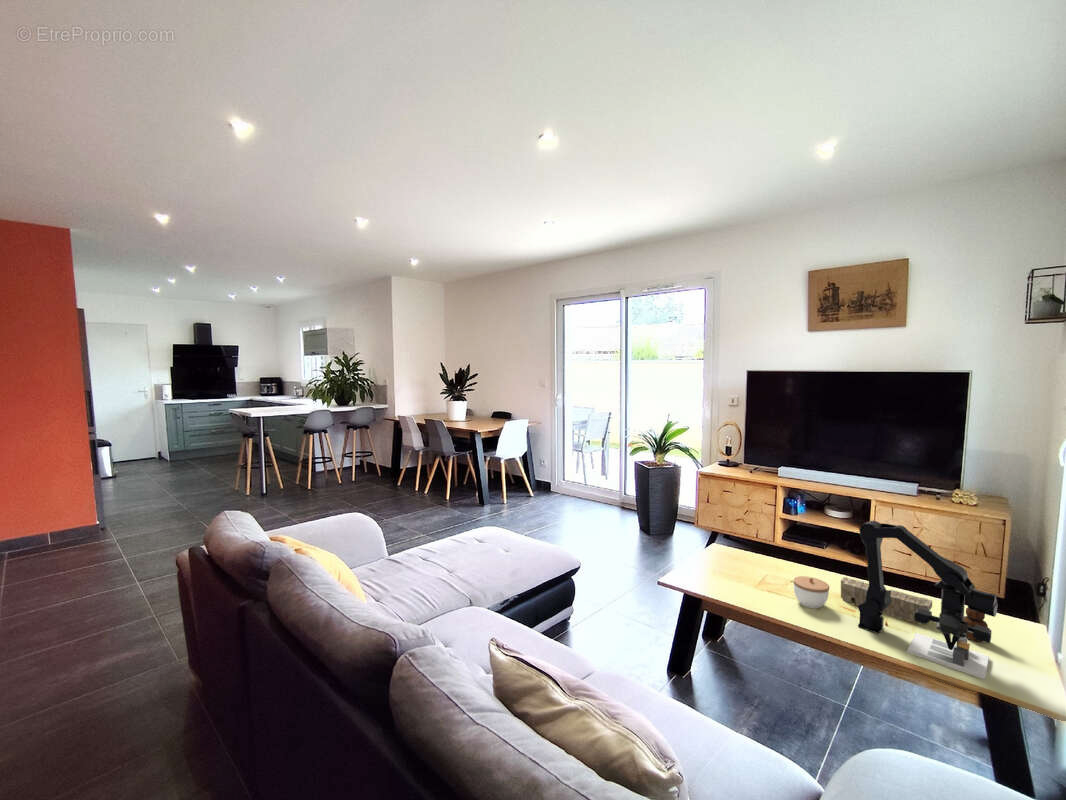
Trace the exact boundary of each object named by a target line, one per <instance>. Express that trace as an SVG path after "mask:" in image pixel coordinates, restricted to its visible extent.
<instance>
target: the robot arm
mask: <svg viewBox="0 0 1066 800" xmlns="http://www.w3.org/2000/svg"><path fill="white" fill-rule="evenodd" d="M859 535H860V538H861V542H862V543H863V544H864V547H865V553H866V554H865V556H866V564H867V567H866V568H867V575H868V577H867V578H868V584H869V587H868V590H867V593H866V600H865V601H864V602H863V603H861V604H860V605H857V609H858V611H859V623H858V624H857V627H858V628H862V629H865V630H867V631H870V632H873V633H876V634H880V633H881V631H883V629H884V620H885V617H884V616H883V613H882V611H883V610H884V609H885V608H887V607H888V606H889V605H890V603H891V602H892V599H891V591H890V590H891V589H890V590H889V589H887V588H886V587H885V584H884V575H883V574H884V571H883V564H882V547H881V546H882V542H883V539H897V540H898V541H899V542H901V543H902V544H904V545H905V547H907V548H908V549H909V550H911V551H912V552H913V553H915V554H916V555H917V556H918V557H919V558H920V559H922V560H923V561H924V562H925V563H927V564H928V565H929V566H930V567H931V568H932V569H933V571H934V573H935V574H936V575H937V576H938V577H939V579H940V581H937V582H936V583H934V585H933V586H934V587H935V588H938V589H940V590H941V603H940V612H939V613H940V614H939V616H936V615H933V611H931V610H930V611H927V610H924V609H920V608H919V609H917V611H916V612H915V621H918V622H921V623H924V625H927V624H929V623H930V622H933V623H936V630H938V631H940V632H941V633H942V636H943V637H944V640H945V642H946V643H947V645H948V648H949V650H952V649H953V647H954V645H957V641H958V639H959V638H960V637H963V638H967V637H966V634H967V633H968V632H969V633H973V636H974V637H975V638H976V639H977V640H980V641H982V642H983V643H984V642H985V643H987V644H990V643H991V641H992V634H993V633H992V629H991V628H990V627H988V628H987V627H983V626H980V625H976V624H975V626H974V627H970V626H968V622H964V616H965V606H967V608H970V609H971V610H973V611H977V612H980V613H983V614H985V615H987V616H991V617H993V618H994V617H995V618H996V616H997V613H998V607H999V606H998V600H997V594H995V593H991V592H985V591H982V590H978V589H976V586H975V585H974V583H973V582H972V581H971V579H970V577H968V571H967V570H966V569H965V568H964V567H963V566H961V565H959V564H957V563H955V562H954V561H952V560H951V559H949V558H945V557H943V556H942V555H940V554H939V553H938V552H936V551H935V550H934V549H933V548H931V547H930V546H929V545H928V544H926V543H925V542H924V541H922V540H921V539H920V538H918V537H917V536H916V535H914V534H913V533H912V532H911V531H909V530H908V529H907V528H906V527H905V526H903V525H894V524H890V523H881V522H879V521H876V520H870V521H867V522H865V523H863V524H862V525H860V526H859ZM965 604H966V605H965ZM951 635H952V637H951Z"/></svg>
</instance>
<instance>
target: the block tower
mask: <svg viewBox="0 0 1066 800" xmlns="http://www.w3.org/2000/svg"><path fill="white" fill-rule="evenodd" d="M868 587H869V582H868V583H867V582H864V581H860V580H857V579H852V578H848V577H847V576H844V577H842V579H840V598H842V601H844V602H846V603H853V601H855V602H854V603H855V605H857V606H859V605H860V604H861V603H863V602H864V601H865V600H866V593H867V590H868ZM890 591H891V599H892V602H891V603H890V605H889V606H888V607H887V608H885V609H884V610H883V611H882V614H886V615H888V616H892V617H896V618H899V619H901V620H905V621H910V622H912V623H916V624H919V625H921V626H923V625H925V624H924V623H921V622H918V621H915V612H916V611H917V609H919V608H920V609H924V610H927V611H931V609H932V607H933V600H932V599H928V598H925V597H919V596H916V595H911V594H908V593H904V592H903V591H897V590H894V589H890Z"/></svg>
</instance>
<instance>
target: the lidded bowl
mask: <svg viewBox="0 0 1066 800" xmlns="http://www.w3.org/2000/svg"><path fill="white" fill-rule="evenodd" d="M829 591H830V585H829V584H828V583H827V582H826V581H823V580H822V579H819V578H816V577H812V576H806V575H805V576H802V575H801V576H795V577H794V578H793V593H794V595H795V597H796V599H797V600H798V601H799V602H800V604H801V605H802V606H804V607H806V608H808V609H809V608H810V609H815V610H817V609H820V608H821V607H823V606H825V604H826V603H827V601H828V598H829V593H830V592H829Z"/></svg>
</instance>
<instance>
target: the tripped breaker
mask: <svg viewBox="0 0 1066 800" xmlns="http://www.w3.org/2000/svg"><path fill="white" fill-rule="evenodd" d="M970 645H971V644H970V643H969V642H967V643H966V642H963V641H959V644H958V647H959V648H958V649H962V650H964V659H965V660H968V658H969V650H970Z"/></svg>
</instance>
